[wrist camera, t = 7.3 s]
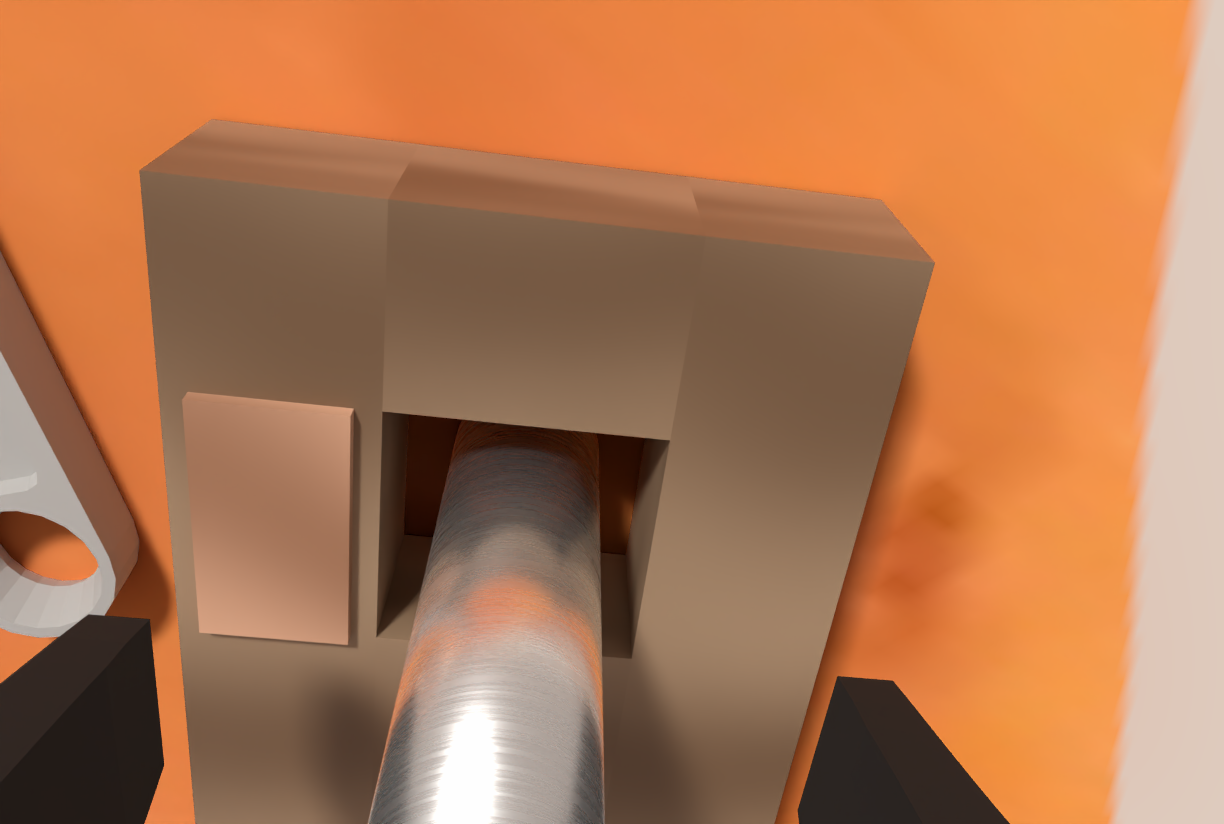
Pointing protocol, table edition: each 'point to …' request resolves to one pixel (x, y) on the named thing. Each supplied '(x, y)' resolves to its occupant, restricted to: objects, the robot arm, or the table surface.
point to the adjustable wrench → (53, 481)
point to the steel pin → (505, 642)
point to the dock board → (519, 395)
